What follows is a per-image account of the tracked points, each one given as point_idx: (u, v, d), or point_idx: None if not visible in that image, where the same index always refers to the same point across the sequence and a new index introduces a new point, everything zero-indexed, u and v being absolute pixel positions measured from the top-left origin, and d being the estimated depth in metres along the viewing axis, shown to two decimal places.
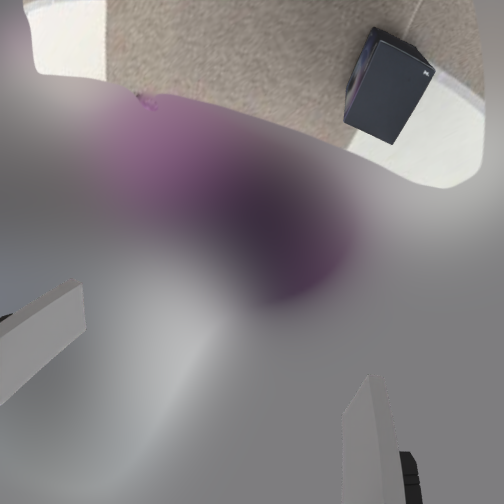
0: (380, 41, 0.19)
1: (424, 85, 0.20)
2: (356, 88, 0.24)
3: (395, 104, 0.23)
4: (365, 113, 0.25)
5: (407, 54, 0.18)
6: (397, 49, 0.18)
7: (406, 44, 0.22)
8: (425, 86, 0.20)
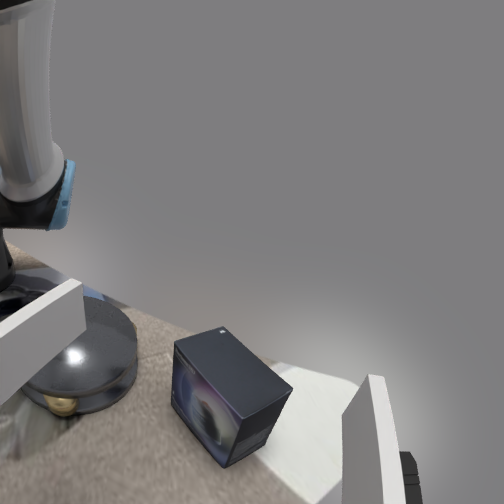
0: (175, 341, 0.26)
1: (233, 337, 0.28)
2: (209, 390, 0.22)
3: (243, 364, 0.25)
4: (241, 392, 0.22)
5: (198, 334, 0.28)
6: (190, 336, 0.27)
7: None
8: (234, 337, 0.28)
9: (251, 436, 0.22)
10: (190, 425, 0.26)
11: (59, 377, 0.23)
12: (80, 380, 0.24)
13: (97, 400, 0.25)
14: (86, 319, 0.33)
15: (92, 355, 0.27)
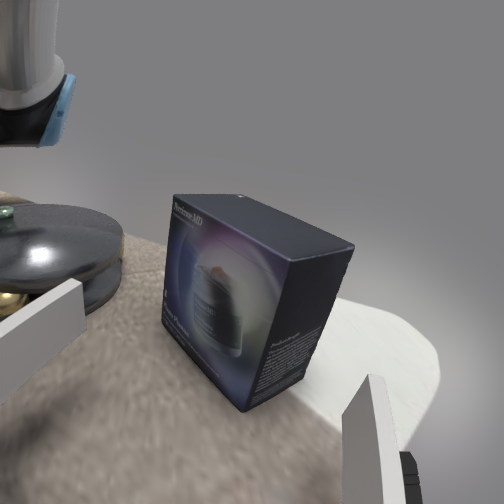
0: (174, 194, 0.18)
1: (256, 201, 0.21)
2: (225, 238, 0.15)
3: (275, 216, 0.17)
4: (280, 234, 0.14)
5: (208, 194, 0.20)
6: (196, 194, 0.19)
7: None
8: None
9: (293, 336, 0.15)
10: (188, 342, 0.18)
11: (8, 262, 0.15)
12: (34, 265, 0.16)
13: None
14: (63, 219, 0.25)
15: (59, 245, 0.20)
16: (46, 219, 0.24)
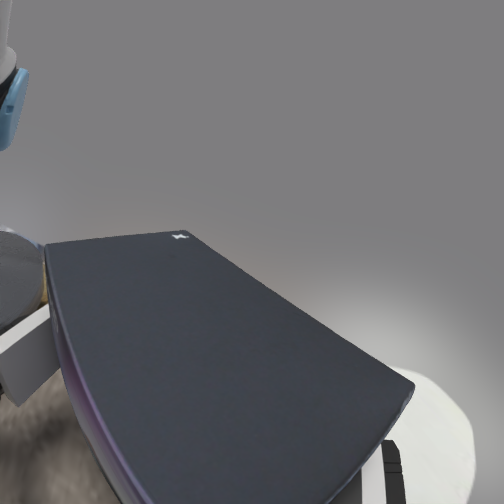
0: (46, 245, 0.08)
1: (206, 248, 0.10)
2: (81, 398, 0.04)
3: (230, 308, 0.07)
4: (216, 422, 0.04)
5: (115, 236, 0.10)
6: (90, 239, 0.09)
7: None
8: (210, 248, 0.11)
9: None
10: None
11: None
12: None
13: None
14: None
15: None
16: None
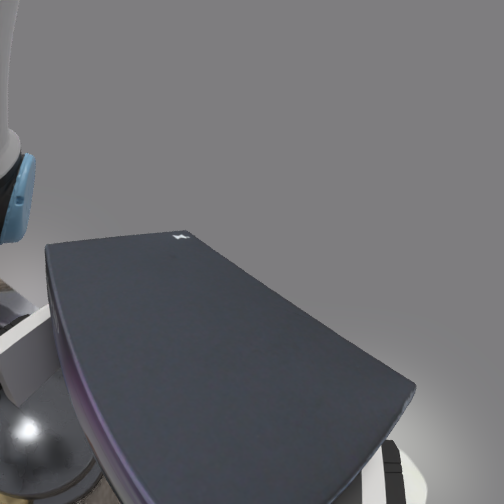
0: (47, 246, 0.08)
1: (207, 249, 0.10)
2: (82, 399, 0.04)
3: (232, 308, 0.07)
4: (219, 423, 0.04)
5: (116, 237, 0.10)
6: (90, 239, 0.09)
7: None
8: (211, 249, 0.11)
9: None
10: None
11: (0, 470, 0.09)
12: (26, 479, 0.10)
13: (56, 497, 0.12)
14: None
15: (41, 441, 0.14)
16: None
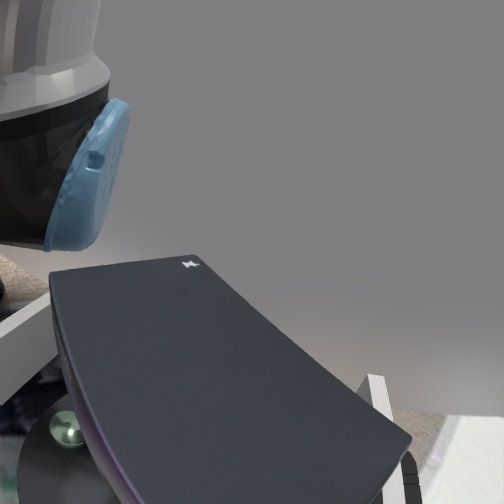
0: (51, 274, 0.08)
1: (218, 281, 0.10)
2: (105, 456, 0.04)
3: (246, 361, 0.07)
4: (239, 487, 0.04)
5: (123, 263, 0.10)
6: (96, 266, 0.09)
7: None
8: (222, 281, 0.10)
9: None
10: None
11: None
12: None
13: None
14: None
15: None
16: None
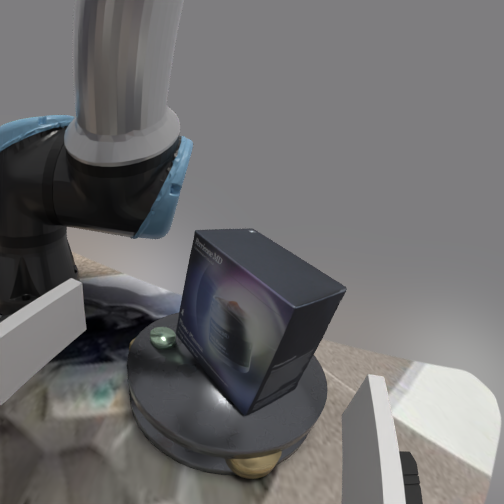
0: (196, 230, 0.22)
1: (266, 237, 0.24)
2: (242, 279, 0.18)
3: (283, 258, 0.21)
4: (287, 280, 0.18)
5: (224, 229, 0.23)
6: None
7: None
8: (267, 238, 0.24)
9: (291, 359, 0.18)
10: (202, 356, 0.22)
11: (260, 428, 0.18)
12: (290, 423, 0.19)
13: None
14: None
15: None
16: None
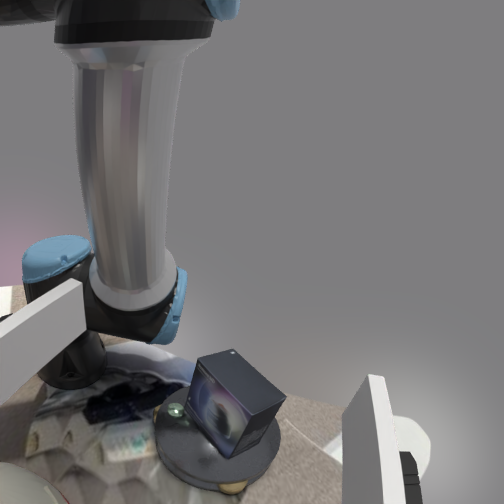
0: (198, 358, 0.34)
1: (241, 357, 0.36)
2: (226, 395, 0.30)
3: (250, 377, 0.33)
4: (250, 396, 0.30)
5: (215, 353, 0.36)
6: (209, 355, 0.35)
7: None
8: None
9: (253, 432, 0.30)
10: (202, 425, 0.33)
11: (235, 468, 0.29)
12: (253, 465, 0.30)
13: None
14: None
15: None
16: None
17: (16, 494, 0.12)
